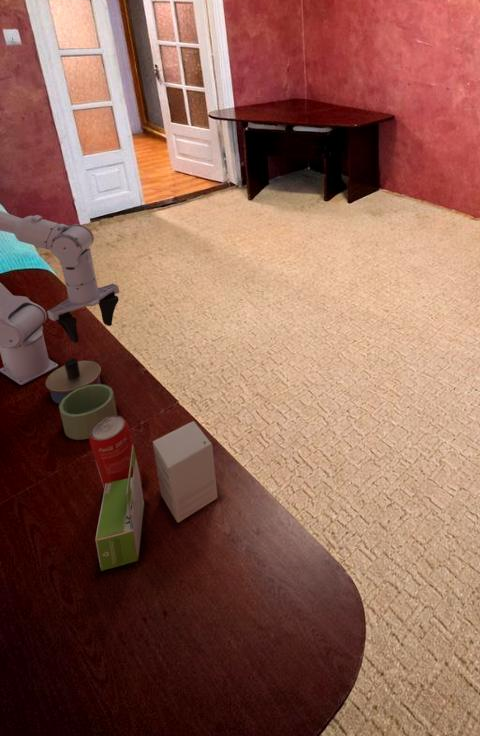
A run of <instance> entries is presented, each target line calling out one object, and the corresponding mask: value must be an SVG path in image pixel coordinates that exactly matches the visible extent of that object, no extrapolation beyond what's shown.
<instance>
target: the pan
mask: <svg viewBox="0 0 480 736" xmlns="http://www.w3.org/2000/svg"><path fill="white" fill-rule="evenodd" d="M93 384H102V382H101V376H100V375H99V377H98V378H97V379H96V380H95V381H94V382H92V383H91V384H89V385H93ZM49 392H50V397H51V400H52V401H53V402H54V403H56V404H58V405H60V403H61V401H62V400H63V399H64V398H65V397H66V396H67V395H68V394H69V393H71V392H66V393H56V392H52V391H50V390H49ZM72 392H73V391H72Z"/></svg>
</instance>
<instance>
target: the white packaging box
mask: <svg viewBox="0 0 480 736" xmlns="http://www.w3.org/2000/svg"><path fill="white" fill-rule="evenodd" d="M152 448H153V449H152V450H153V454H154V460H155V466H156V471H157V473H156V474H157V480H158V486H159V492H160V496H161V498H162V499H163V501H164V503H165V505H166V506H167V508H168V510H169V512H170V513H171V514H172V516H173V518H174V520H175V521H176V523H177V524H179V523H181V522H182V521H184V520H185V519H187V518H188V517H190V516H191V515H193V514H194V513H196V512H198V511H199V510H201V509H202V508H204V507H205V506H207V505H209V504H210V503H212V502H213V501H215V500H217V499H218V497H219V496H218V488H217V487H218V486H217V477H216V466H215V457H214V447H213V443H212V442H211V440H209V438H208V437H207V436H206V434H205V433H204V432H203V431H202V429H201V428H200V427H199V426H198V424H197V423H196V422H195V420H192V421H191V422H188V423H186V424H184V425H182V426H180V427H178V428H176V429H174V430H172V431H171V432H168V433H166V434H165V435H162V436H161V437H159V438H155V440H153V441H152Z"/></svg>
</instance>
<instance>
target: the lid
mask: <svg viewBox="0 0 480 736" xmlns="http://www.w3.org/2000/svg"><path fill="white" fill-rule="evenodd" d="M101 372H102V369H101V366H100V364H99V363H97V362H96V361H93V360H79V361H78V358H69V359H67V360H66V361H65V362H64V364H63V365H62V366H60V367H57V368H56V369H54V370H53V371H51V373H50V374H49V375H48V376H47V378H46V379H45V386H46V389H47V390H48V391H49V392H50V391H52V392H56V393H66V392H72V391H75V390H76V389H78V388H81V387H84V386H87V385H89V384H91V383H92V382H94V381H95V380H96V379H97V378H98V377H99V376H100V375H101Z"/></svg>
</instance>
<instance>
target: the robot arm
mask: <svg viewBox="0 0 480 736" xmlns="http://www.w3.org/2000/svg"><path fill="white" fill-rule="evenodd" d="M0 232H5V233H9V234H13V235H14V237H15V238H16V240H17V241H18V242H21V243H24V244H28V245H31V246H34V247H39V248H41V249H45V250H49V251H50V252H51V253H52V255H53V256H54V257H56V258H57V259H58V262H59V265H60V266H61V270H62V274H63V279H64V283H65V288H66V292H67V297H68V298H67V299H65V300H64V301H62V302H60V303H59V304H58V305H56V306H54V307H53V308H51V309H48V310H47V312H46V310H45V309H44V307H43V306H41V305H39V304H37V303H35V302H33V301H31V300H30V298H28V296H23V295H13V294H12V292H11V291H9V290H8V288H7V287H6V286H4V284H3V283H1V282H0V357H1V360H2V364H3V367H1V368H0V373H2V374H3V375H5V376H6V377H8V378H9V379H10V380H12V381H14V382H15V383H17V384H18V385H20V386H23V385H25V384H27V383H30V382H32V381H33V380H35V379H38V378H39V377H40V376H44V375H45V374H47V373H49V372H52V371H54V370H56V369H58V368H59V364H58V363H57V362H55V361H53V360H51V359H50V357H49V353H48V350H47V346H46V345H47V344H46V341H45V338H44V337H45V336H44V332H43V330H44V327H43V324H44V323H45V322H46V320H47V317H48V319H49V320H50V321H53V322H56V323H57V324H59V326H61V328H62V329H63V331H65V333H66V334H67V336H68V338H69V340H70V341H71V342H73V343H75V344H76V343H78V342H80V338H79V333H78V328H77V327H78V326H77V321H78V318H77V317H75V316H73V314H72V313H73V312H75V311H77V310H79V309H82V308H86V307H94V306H96V305H98V307H99V310H100V313H101V319H102V323H103V324H104V325H105V326H108V327H110V326H111V327H112V326H113V318H114V313H115V309H116V307H117V305H118V303H119V296H118V295H117V294H119V293H120V288H119V285H118V284H116V283H111V284H107V285H104V286H100V287H99V285H98V281H97V275H96V271H95V266H94V265H95V264H94V260H93V255H92V251H91V250H92V249H91V248H90V247H91V246H92V245H93V243H94V241H95V238H94V234H93V232H92V231H91V230H90V228H88V227H87V226H84V225H82V224H80V223H74V224H71V225H67V224H65V223H58V222H54V221H51V220H48V219H45V218H44V219H43V216H42V215H39V214H35V215H28V216H27V215H26V216H25V217H23V218H22V217H19V216H16V215H14V214H11V213H9V212H5V211H3V210H0Z"/></svg>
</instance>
